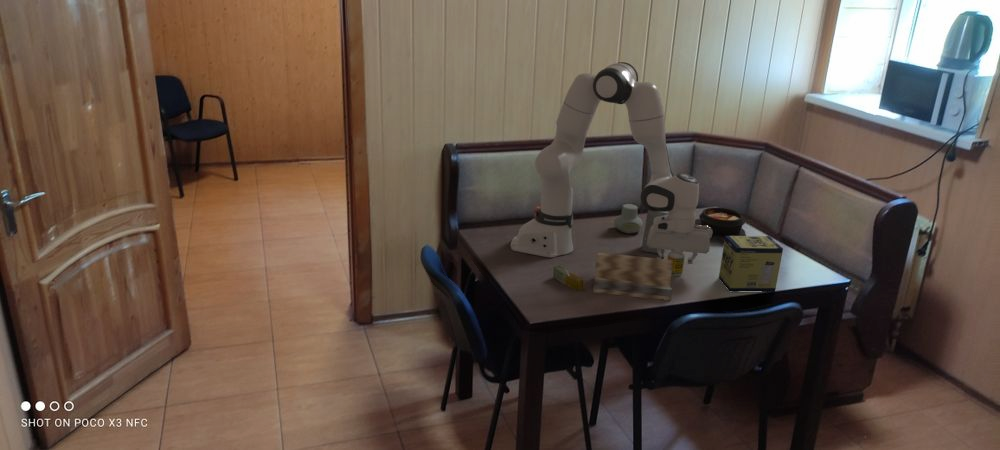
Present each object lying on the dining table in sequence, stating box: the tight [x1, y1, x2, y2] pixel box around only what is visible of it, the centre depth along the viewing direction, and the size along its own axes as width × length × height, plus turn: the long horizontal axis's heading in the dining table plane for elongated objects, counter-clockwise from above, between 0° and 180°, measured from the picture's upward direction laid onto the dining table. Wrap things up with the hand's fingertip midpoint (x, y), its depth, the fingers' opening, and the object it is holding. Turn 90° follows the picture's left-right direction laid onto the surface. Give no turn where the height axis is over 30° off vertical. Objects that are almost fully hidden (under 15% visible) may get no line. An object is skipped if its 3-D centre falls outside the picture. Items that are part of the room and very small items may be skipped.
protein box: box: [718, 235, 784, 293], centre depth 234 cm, size 10×16×16 cm
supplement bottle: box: [667, 249, 686, 277], centre depth 241 cm, size 5×5×10 cm
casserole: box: [695, 207, 747, 242], centre depth 278 cm, size 25×19×8 cm
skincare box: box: [641, 209, 668, 256], centre depth 259 cm, size 8×7×16 cm
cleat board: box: [592, 251, 673, 301], centre depth 229 cm, size 24×11×9 cm, turn 80°
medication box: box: [553, 265, 584, 292], centre depth 232 cm, size 12×3×4 cm, turn 36°
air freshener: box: [613, 203, 644, 235], centre depth 277 cm, size 11×8×10 cm
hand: (675, 261), depth 242 cm, fingers open, 8 cm apart
